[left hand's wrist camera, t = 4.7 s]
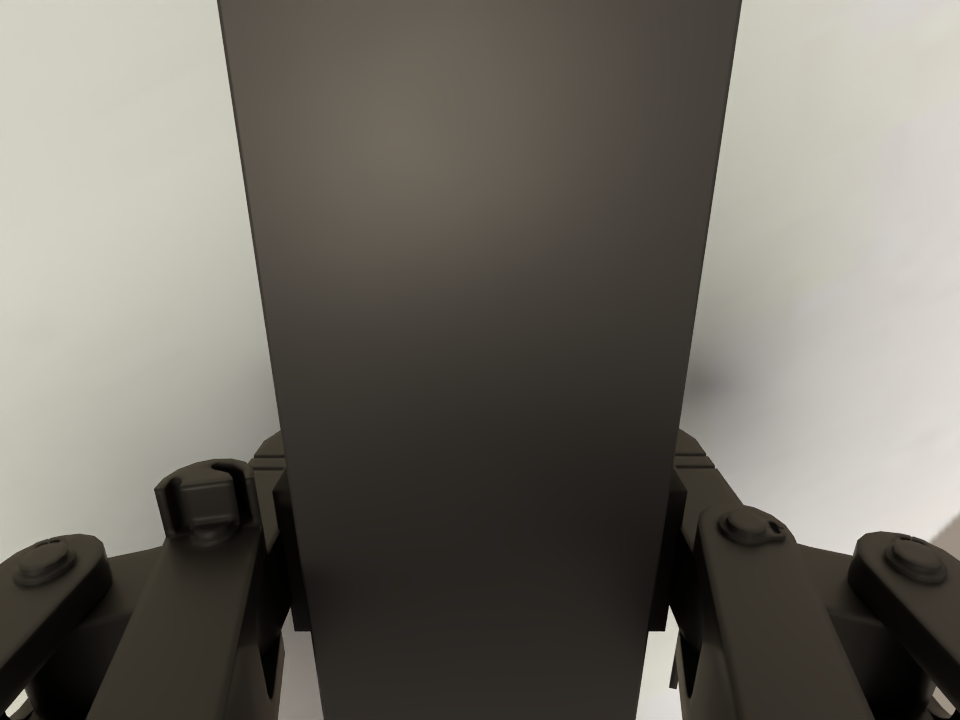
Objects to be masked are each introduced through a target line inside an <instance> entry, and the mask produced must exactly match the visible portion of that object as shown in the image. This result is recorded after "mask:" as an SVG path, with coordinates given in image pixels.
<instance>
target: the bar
mask: <svg viewBox="0 0 960 720" xmlns="http://www.w3.org/2000/svg"><path fill="white" fill-rule="evenodd" d="M217 4H218V11H219V17H220V24H221V31H222V38H223V44H224V51H225V58H226V65H227V71H228V78H229V85H230V91H231V98H232V105H233V112H234V118H235V125H236V132H237V139H238V145H239V152H240V159H241V165H242V172H243V179H244V186H245V192H246V199H247V206H248V213H249V219H250V226H251V233H252V239H253V246H254V253H255V260H256V266H257V273H258V280H259V287H260V293H261V300H262V307H263V314H264V320H265V327H266V334H267V340H268V347H269V354H270V361H271V367H272V374H273V381H274V388H275V394H276V401H277V408H278V414H279V421H280V428H281V435H282V441H283V448H284V455H285V462H286V468H287V475H288V482H289V488H290V495H291V502H292V509H293V515H294V522H295V529H296V536H297V542H298V549H299V556H300V562H301V569H302V576H303V583H304V589H305V596H306V603H307V610H308V616H309V623H310V630H311V636H312V643H313V650H314V657H315V663H316V670H317V677H318V684H319V690H320V697H321V704H322V711H323V717H324V720H636V713H637V706H638V700H639V693H640V686H641V679H642V673H643V666H644V659H645V652H646V645H647V639H648V632H649V625H650V618H651V612H652V605H653V598H654V591H655V585H656V578H657V571H658V564H659V558H660V551H661V544H662V537H663V531H664V524H665V517H666V510H667V504H668V497H669V490H670V483H671V477H672V470H673V463H674V456H675V450H676V443H677V436H678V429H679V423H680V416H681V409H682V402H683V396H684V389H685V382H686V375H687V369H688V362H689V355H690V348H691V342H692V335H693V328H694V321H695V315H696V308H697V301H698V294H699V288H700V281H701V274H702V267H703V260H704V254H705V247H706V240H707V233H708V227H709V220H710V213H711V206H712V200H713V193H714V186H715V179H716V173H717V166H718V159H719V152H720V146H721V139H722V132H723V125H724V119H725V112H726V105H727V98H728V92H729V85H730V78H731V71H732V65H733V58H734V51H735V44H736V38H737V31H738V24H739V17H740V11H741V4H742V0H217Z"/></svg>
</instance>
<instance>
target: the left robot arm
mask: <svg viewBox="0 0 960 720" xmlns="http://www.w3.org/2000/svg"><path fill="white" fill-rule="evenodd" d="M154 491H155V495H156V499H157V503H158V507H159V511H160V515H161V518H162V522H163V526H164V530H165V534H166V539H165V541H164V543H163V546H160V547H156V548H153V549H149V550H144V551H140V552H135V553H130V554H125V555H120V556H115V557H111V558H107V555H106V552H105V548H104V545H103V543H102V542H101V541H100V540H99V539H97V538H96V537H95V536H90V535H84V534H73V535H64V536H58V537H54V538H50V539H46V540H43V541H40V542H37V543H35V544H34V545H32V546H30V547H28V548H25V549H23V550H21V551H19V552H17V553H15V554H14V555H13V556H11V557H10V558H8V559H7V560H5V561H4V562H3V563H1V564H0V720H278V711H279V702H280V693H281V684H282V674H283V665H284V656H285V651H284V644H283V638H282V632H281V629H282V626H283V624H284V621H285V619H286V617H287V614H288V612H289V609H290V607H291V611H292V617H293V623H294V630H295V631H311V630H310V623H309V616H308V610H307V603H306V596H305V589H304V583H303V576H302V569H301V562H300V556H299V549H298V542H297V536H296V529H295V522H294V515H293V509H292V502H291V495H290V488H289V482H288V475H287V468H286V462H285V455H284V448H283V441H282V435H281V430H280V431H279V432H277V433H276V434H274V435H273V436H271V437H270V438H268V439H267V440H265V441H264V442H263V444H262V445H261V446H260V448H259V449H258V451H257V452H256V453H255V455H254V458H252V459H251V460H250V462H249V463H248V464H247V463H246V462H243V461H239V460H235V459H212V460H207V461H202V462H197V463H194V464H191V465H189V466H186V467H183V468H181V469H178V470H176V471H175V472H173V473H172V474H170V475H168V476H167V477H165V478H164V479H163V480H162V481H161V482H160V483H159V484H158V485H157V486H156V487H155V489H154ZM669 605H670V607H671V610H672V612H673V615H674V617H675V619H676V622H677V624H678V627H679V632H678V638H677V644H676V650H675V655H674V661H673V667H672V672H671V679H670V685H669V688H673V689H677V684H678V682H679V691H680V701H681V710H682V719H683V720H960V561H959V560H957V559H956V558H955V557H953V556H952V555H950V554H949V553H947V552H946V551H944V550H943V549H940V548H938V547H936V546H934V545H932V544H930V543H928V542H926V541H924V540H922V539H919V538H916V537H911V536H909V535H905V534H900V533H892V532H882V531H879V532H873V533H867V534H865V535H864V536H862V537H861V538H860V539H859V540H857V544H856V547H855V550H854V553H853V556H851V555H847V554H842V553H837V552H832V551H827V550H822V549H817V548H813V547H809V546H805V545H801V544H798V543H797V542H796V540H795V538H794V536H793V535H792V533H791V532H790V531H789V529H788V528H787V527H786V525H785V524H783V523H782V522H780V521H779V520H778V519H776V518H775V517H774V516H772V515H770V514H768V513H766V512H763V511H761V510H759V509H757V508H754V507H750V506H746V505H743V504H742V502H741V501H740V500H739V498H738V497H737V495H736V494H735V493H734V491H733V490H732V489H731V487H730V486H729V484H728V483H727V482H726V480H725V479H724V478H723V476H722V475H721V473H720V472H719V471H718V469H715V465H714V464H713V463H712V461H711V460H710V458H709V457H708V456H706V453H705V452H704V450H703V449H702V447H701V446H700V445H699V443H698V442H697V441H696V439H694V438H693V437H691V436H690V435H688V434H687V433H685V432H684V431H682V430H681V429H678V436H677V443H676V450H675V456H674V463H673V470H672V477H671V483H670V490H669V497H668V504H667V510H666V517H665V524H664V531H663V537H662V544H661V551H660V558H659V564H658V571H657V578H656V585H655V591H654V598H653V605H652V612H651V618H650V625H649V631H665V627H666V621H667V615H668V609H669ZM936 686H937V687H938V688H939V689H940V690H941V692H942V693H943V694H944V695H945V696H946V697H947V699H948V700H949V701H950V702H951V703H952V705H953V706H954V707H955V708H956V710H955V712H954V714H953V715H950V714H949V713H948V712H946V711H945V710H944V709H943V708H942V707H941V706H940V704H939V703H938V702H937V701H936V700H935V698H934V697H933V696H932V695H933V692H934V690H935V687H936ZM23 689H25V691H26V694H27V696H28V699H27V700H26V701H25V702H24V704H23V705H22V706H21V707H20V708H19V709H18V710H17V711H16V712H15V713H14V714H13V715H12V716H11V717H8V716H7V715H6V713H5V711H6V709H7V708H8V707H9V706H10V705H11V704H12V702H13V701H14V700H15V699H16V698H17V696H18V695H19V694H20V693H21V692H22V691H23Z"/></svg>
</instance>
